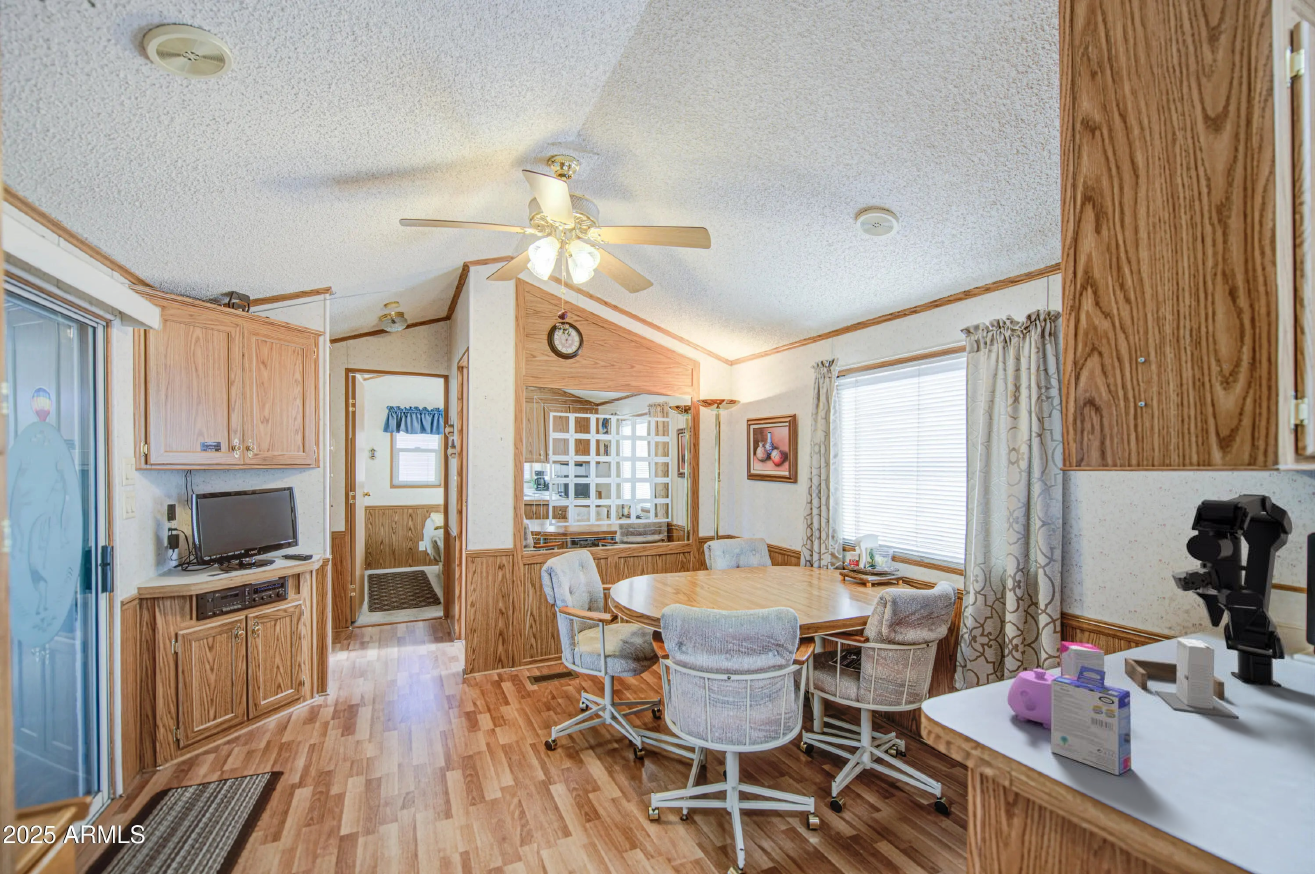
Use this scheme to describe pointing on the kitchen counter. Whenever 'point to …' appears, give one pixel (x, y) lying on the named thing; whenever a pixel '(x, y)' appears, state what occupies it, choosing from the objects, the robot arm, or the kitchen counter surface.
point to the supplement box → (1080, 659)
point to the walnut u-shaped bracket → (1161, 674)
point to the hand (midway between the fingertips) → (1225, 632)
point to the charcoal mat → (1181, 706)
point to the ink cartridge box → (1091, 721)
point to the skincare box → (1195, 673)
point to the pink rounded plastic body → (1032, 696)
